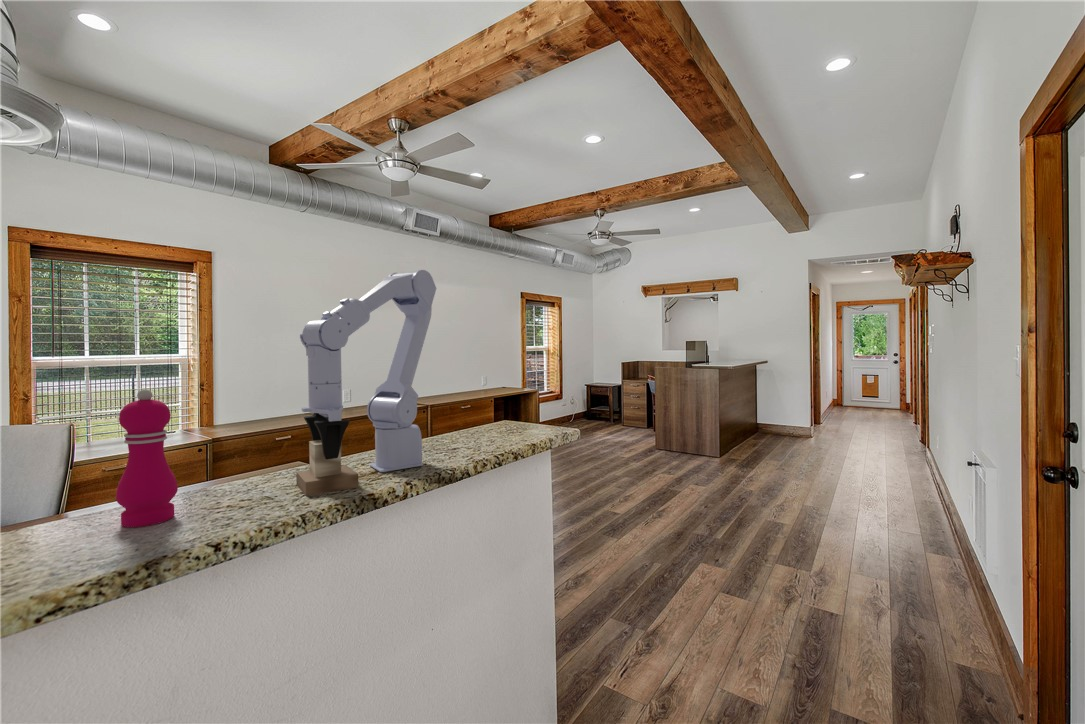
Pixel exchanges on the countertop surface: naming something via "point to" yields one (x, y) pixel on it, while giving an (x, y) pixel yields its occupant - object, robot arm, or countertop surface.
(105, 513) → the countertop surface
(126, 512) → the pepper mill
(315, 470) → the ash block
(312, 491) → the walnut block
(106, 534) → the countertop surface
